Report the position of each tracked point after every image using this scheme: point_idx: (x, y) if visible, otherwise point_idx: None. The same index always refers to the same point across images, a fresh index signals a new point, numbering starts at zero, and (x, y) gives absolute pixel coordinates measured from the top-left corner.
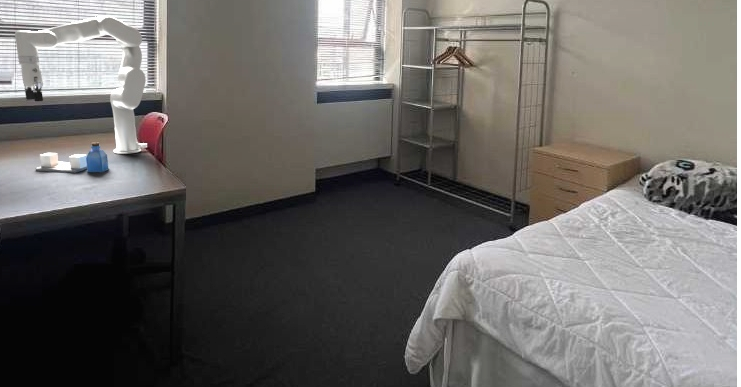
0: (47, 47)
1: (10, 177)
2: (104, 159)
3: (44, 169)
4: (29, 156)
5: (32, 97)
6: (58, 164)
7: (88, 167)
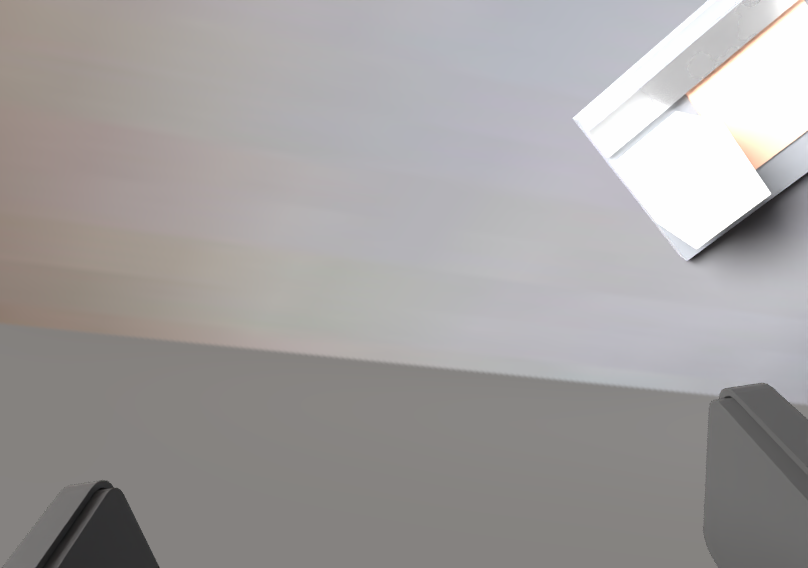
0: None
1: None
2: None
3: (741, 217)
4: (152, 214)
5: (114, 555)
6: (678, 114)
7: None
